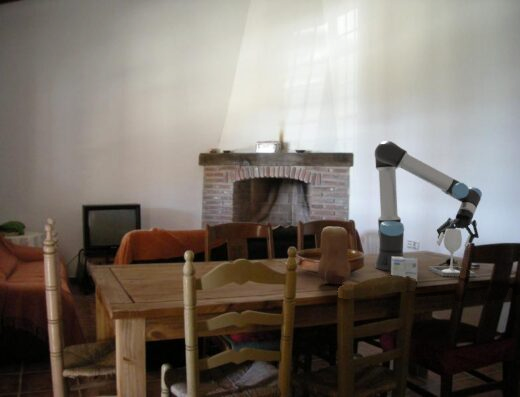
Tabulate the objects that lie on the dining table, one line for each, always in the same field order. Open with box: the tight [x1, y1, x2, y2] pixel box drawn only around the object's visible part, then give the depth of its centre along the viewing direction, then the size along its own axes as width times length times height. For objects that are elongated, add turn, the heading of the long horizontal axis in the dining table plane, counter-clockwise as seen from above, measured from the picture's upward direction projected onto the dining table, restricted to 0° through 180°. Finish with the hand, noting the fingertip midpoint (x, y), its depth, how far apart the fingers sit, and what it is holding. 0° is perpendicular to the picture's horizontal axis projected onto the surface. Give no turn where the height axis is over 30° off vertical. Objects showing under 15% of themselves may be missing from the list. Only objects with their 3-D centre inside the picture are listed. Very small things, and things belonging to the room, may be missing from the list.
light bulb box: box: [390, 256, 419, 282], centre depth 218 cm, size 11×7×11 cm, turn 84°
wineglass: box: [442, 228, 463, 272], centre depth 238 cm, size 9×9×21 cm
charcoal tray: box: [427, 265, 476, 278], centre depth 239 cm, size 16×16×2 cm
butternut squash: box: [317, 226, 351, 286], centre depth 209 cm, size 14×13×25 cm
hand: (451, 245), depth 237 cm, fingers open, 13 cm apart
